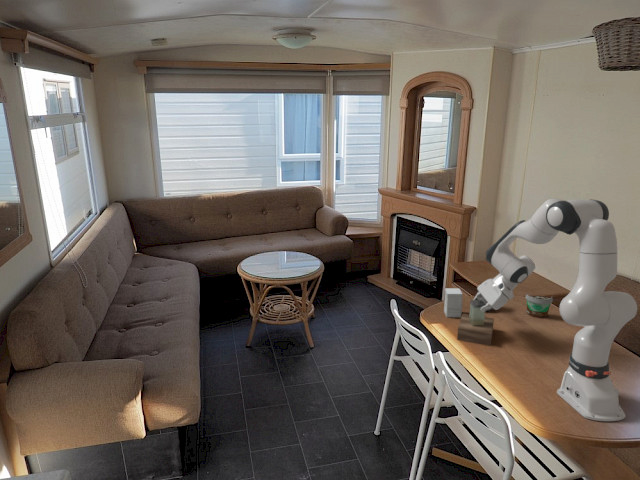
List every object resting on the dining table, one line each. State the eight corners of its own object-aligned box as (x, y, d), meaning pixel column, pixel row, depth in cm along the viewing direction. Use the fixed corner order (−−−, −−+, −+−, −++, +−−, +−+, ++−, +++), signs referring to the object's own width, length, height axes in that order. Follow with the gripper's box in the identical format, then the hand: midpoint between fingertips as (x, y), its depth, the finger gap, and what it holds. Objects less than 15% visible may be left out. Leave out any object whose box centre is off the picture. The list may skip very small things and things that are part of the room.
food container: (524, 317, 227) (527, 298, 224) (523, 312, 233) (525, 293, 230) (552, 320, 224) (555, 301, 221) (550, 315, 229) (553, 296, 227)
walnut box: (490, 346, 202) (491, 333, 200) (457, 340, 207) (457, 328, 206) (492, 330, 216) (493, 318, 214) (461, 325, 221) (462, 313, 220)
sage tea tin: (483, 325, 208) (486, 305, 205) (472, 325, 208) (474, 305, 205) (479, 320, 213) (481, 300, 210) (468, 320, 212) (470, 300, 210)
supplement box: (458, 311, 235) (460, 288, 231) (461, 317, 228) (463, 294, 224) (443, 310, 236) (445, 287, 232) (445, 317, 229) (447, 293, 225)
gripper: (489, 272, 214) (466, 292, 217) (505, 289, 194) (480, 311, 197) (497, 281, 215) (475, 301, 218) (515, 299, 196) (489, 320, 198)
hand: (477, 306), depth 207 cm, fingers open, 8 cm apart
